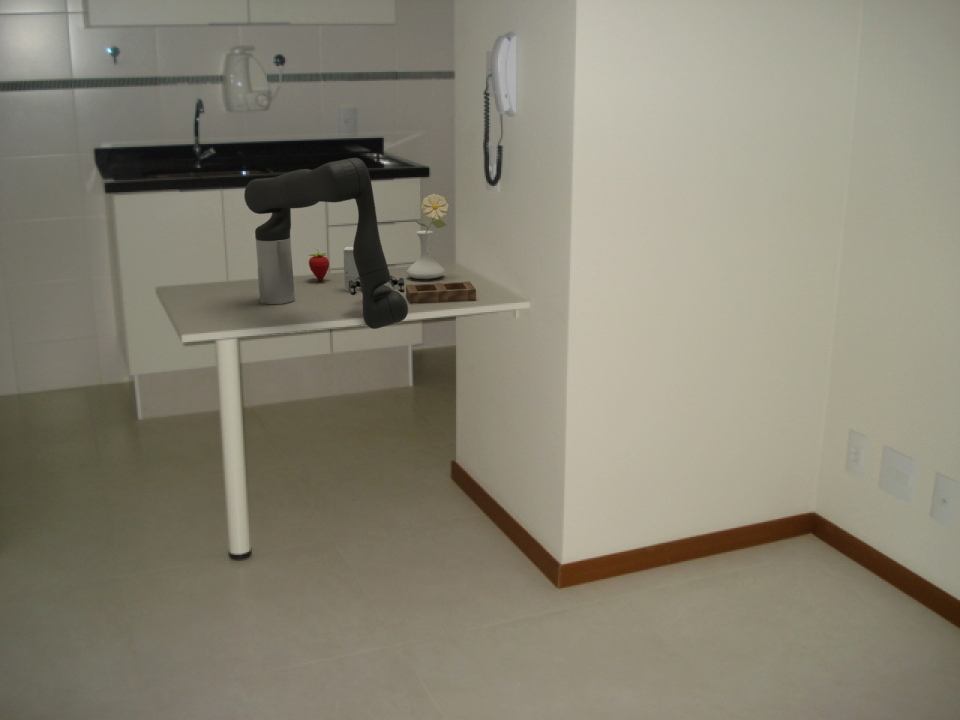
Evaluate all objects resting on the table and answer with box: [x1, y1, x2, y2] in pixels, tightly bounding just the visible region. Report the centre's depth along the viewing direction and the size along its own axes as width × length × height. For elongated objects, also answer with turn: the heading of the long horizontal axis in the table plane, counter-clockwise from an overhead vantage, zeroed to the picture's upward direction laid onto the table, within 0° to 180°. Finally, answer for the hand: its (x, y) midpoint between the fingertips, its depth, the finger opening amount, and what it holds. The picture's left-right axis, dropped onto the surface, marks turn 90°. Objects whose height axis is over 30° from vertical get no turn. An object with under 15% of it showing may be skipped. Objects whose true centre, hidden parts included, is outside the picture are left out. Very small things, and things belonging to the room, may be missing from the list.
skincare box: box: [343, 246, 359, 292], centre depth 284 cm, size 6×4×12 cm
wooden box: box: [405, 281, 477, 304], centre depth 274 cm, size 18×10×3 cm, turn 100°
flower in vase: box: [406, 193, 449, 280], centre depth 296 cm, size 13×11×25 cm
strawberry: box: [308, 248, 330, 282], centre depth 295 cm, size 6×8×10 cm
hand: (374, 280), depth 265 cm, fingers open, 8 cm apart
